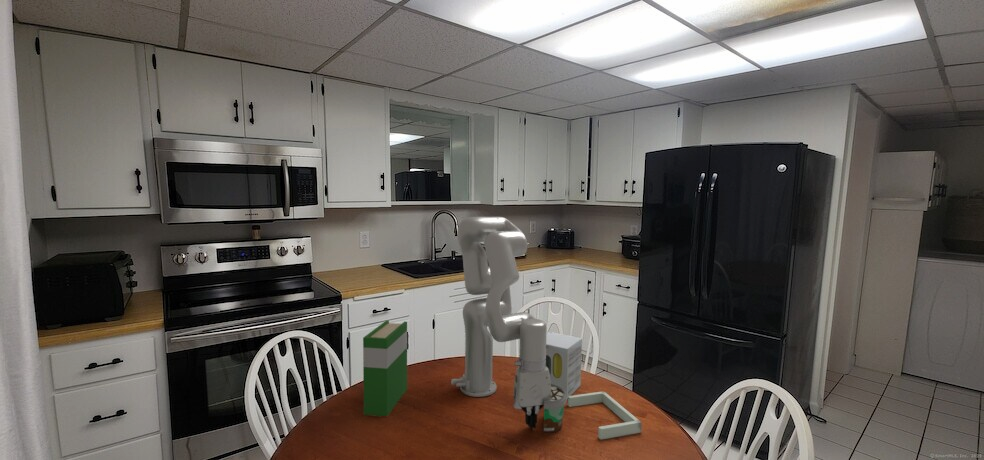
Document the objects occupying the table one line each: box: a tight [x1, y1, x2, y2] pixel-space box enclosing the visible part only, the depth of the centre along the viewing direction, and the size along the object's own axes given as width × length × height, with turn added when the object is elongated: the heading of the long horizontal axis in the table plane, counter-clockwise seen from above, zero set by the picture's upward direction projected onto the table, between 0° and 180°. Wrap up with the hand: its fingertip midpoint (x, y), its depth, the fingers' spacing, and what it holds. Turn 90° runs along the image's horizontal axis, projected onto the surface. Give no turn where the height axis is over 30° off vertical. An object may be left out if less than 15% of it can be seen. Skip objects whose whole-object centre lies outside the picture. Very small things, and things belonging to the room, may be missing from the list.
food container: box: [543, 384, 568, 435], centre depth 116 cm, size 12×6×10 cm, turn 168°
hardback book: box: [362, 320, 408, 417], centre depth 128 cm, size 18×7×24 cm, turn 173°
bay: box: [567, 391, 643, 440], centre depth 121 cm, size 13×19×3 cm
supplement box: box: [546, 331, 583, 400], centre depth 140 cm, size 13×13×18 cm
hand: (531, 425), depth 114 cm, fingers closed
